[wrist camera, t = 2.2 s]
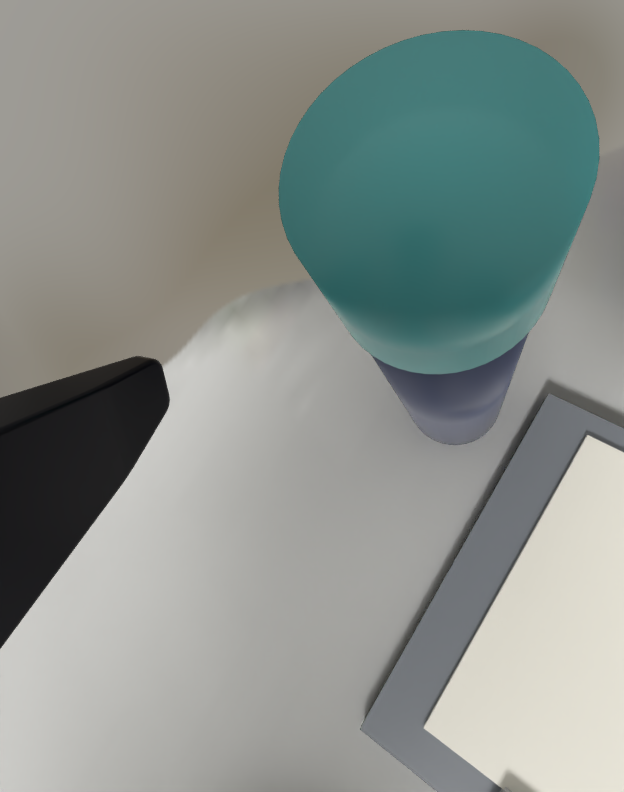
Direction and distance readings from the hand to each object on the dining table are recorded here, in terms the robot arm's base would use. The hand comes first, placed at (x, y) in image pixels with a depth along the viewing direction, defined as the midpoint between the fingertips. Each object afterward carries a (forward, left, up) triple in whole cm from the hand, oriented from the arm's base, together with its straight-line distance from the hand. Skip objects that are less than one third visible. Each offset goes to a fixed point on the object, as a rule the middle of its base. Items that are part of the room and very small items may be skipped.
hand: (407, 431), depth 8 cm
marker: (+2, +1, -10) cm, 10 cm away
